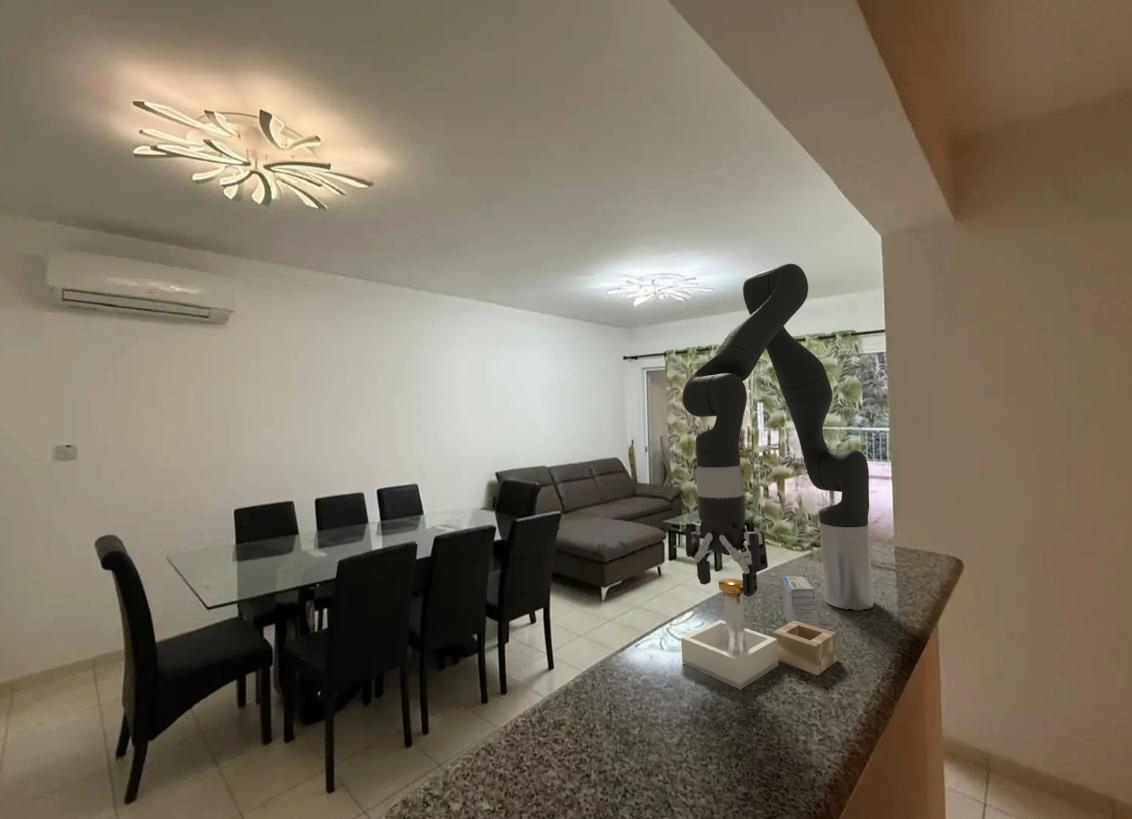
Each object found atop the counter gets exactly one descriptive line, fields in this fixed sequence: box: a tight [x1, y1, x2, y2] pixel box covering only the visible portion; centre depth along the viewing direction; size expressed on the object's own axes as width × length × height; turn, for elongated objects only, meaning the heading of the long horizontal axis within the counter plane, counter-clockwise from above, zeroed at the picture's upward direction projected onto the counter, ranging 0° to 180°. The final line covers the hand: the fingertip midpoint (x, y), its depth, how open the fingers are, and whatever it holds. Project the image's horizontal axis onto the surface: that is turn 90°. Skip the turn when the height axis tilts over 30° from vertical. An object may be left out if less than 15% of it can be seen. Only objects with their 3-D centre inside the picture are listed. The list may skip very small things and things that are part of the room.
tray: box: [680, 619, 780, 691], centre depth 81 cm, size 11×11×4 cm
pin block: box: [772, 621, 839, 676], centre depth 81 cm, size 7×7×4 cm
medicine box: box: [781, 575, 819, 628], centre depth 94 cm, size 8×4×9 cm, turn 168°
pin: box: [718, 578, 746, 656], centre depth 80 cm, size 4×4×13 cm
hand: (726, 589), depth 81 cm, fingers open, 8 cm apart
